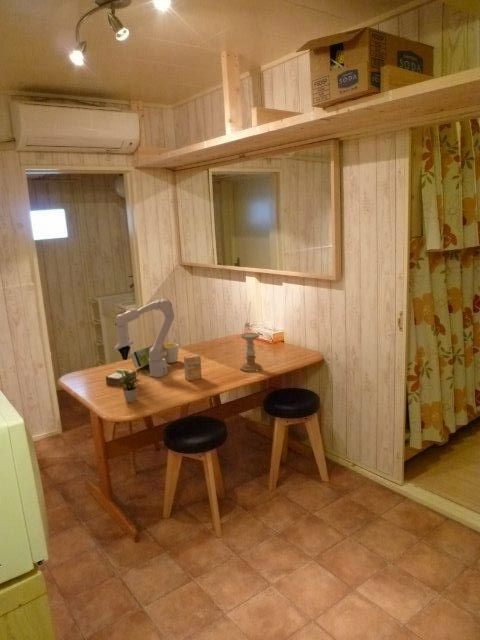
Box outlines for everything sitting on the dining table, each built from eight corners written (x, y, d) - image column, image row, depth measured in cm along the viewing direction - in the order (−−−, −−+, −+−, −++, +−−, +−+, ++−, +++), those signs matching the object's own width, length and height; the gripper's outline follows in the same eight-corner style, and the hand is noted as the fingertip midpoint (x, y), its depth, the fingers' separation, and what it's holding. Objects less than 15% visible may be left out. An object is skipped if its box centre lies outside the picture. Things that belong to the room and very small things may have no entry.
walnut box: (121, 376, 270) (121, 369, 269) (136, 378, 266) (135, 371, 265) (106, 384, 259) (105, 376, 258) (121, 386, 255) (120, 378, 254)
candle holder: (242, 365, 282) (241, 332, 277) (263, 365, 279) (262, 332, 275) (238, 371, 270) (237, 337, 265) (259, 372, 268) (258, 338, 263)
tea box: (135, 369, 281) (153, 363, 273) (129, 353, 281) (147, 346, 273) (151, 362, 294) (168, 356, 286) (145, 347, 294) (163, 340, 286)
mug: (182, 361, 291) (181, 345, 289) (168, 365, 286) (166, 348, 284) (172, 357, 302) (171, 341, 300) (157, 360, 296) (156, 344, 294)
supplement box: (188, 381, 258) (186, 358, 255) (184, 379, 262) (183, 356, 259) (202, 378, 262) (200, 355, 259) (198, 376, 266) (197, 353, 263)
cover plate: (122, 370, 269) (122, 366, 268) (133, 371, 265) (133, 368, 265) (107, 377, 258) (107, 373, 257) (118, 379, 254) (118, 375, 254)
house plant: (107, 404, 232) (104, 372, 228) (124, 393, 244) (121, 363, 241) (132, 407, 227) (129, 374, 223) (148, 396, 239) (145, 365, 236)
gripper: (125, 332, 271) (127, 355, 275) (108, 338, 259) (110, 362, 262) (135, 333, 268) (137, 356, 272) (118, 339, 256) (120, 363, 259)
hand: (125, 359), depth 267 cm, fingers closed
